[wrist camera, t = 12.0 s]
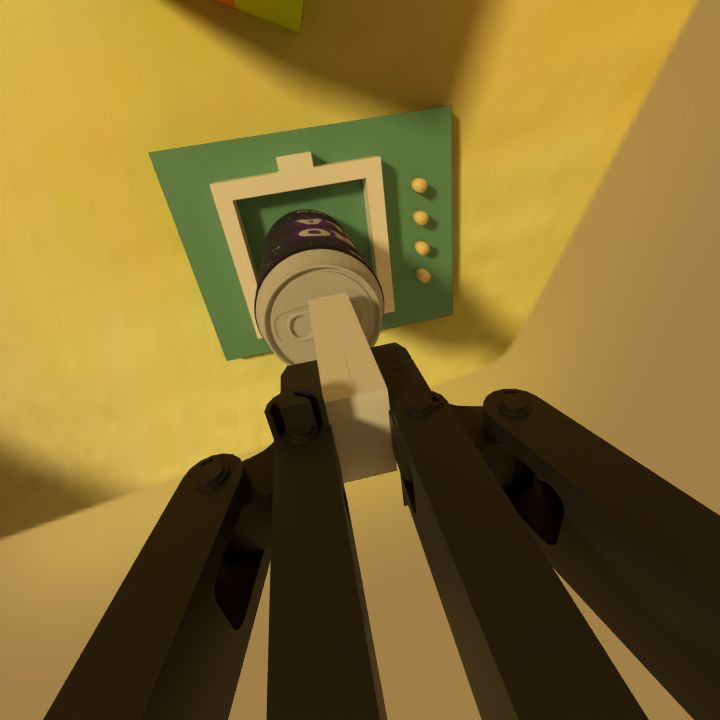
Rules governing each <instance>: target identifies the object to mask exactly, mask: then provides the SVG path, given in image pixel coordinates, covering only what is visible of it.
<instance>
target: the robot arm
mask: <svg viewBox="0 0 720 720" xmlns="http://www.w3.org/2000/svg"><path fill="white" fill-rule="evenodd" d="M308 305H309V312H310V318H311V324H312V331H313V337H314V343H315V350H316V356H317V360H314V361H309V362H304V363H299V364H295V365H290V366H287V367H286V369H285V370H284V372H283V373H282V375H281V393H280V394H279V395H277V396H275V397H274V398H273V399H272V400H271V401H270V402H269V403H268V404H267V406H266V409H265V415H266V418H267V421H268V423H269V426H270V429H271V432H272V435H273V438H274V442H273V443H272V444H271V445H270V446H269V447H268V448H267V449H265V450H264V451H262V452H260V453H259V454H257V455H255V456H253V457H251V458H249V459H246V460H244V461H242V462H241V459H240V458H238V457H237V456H235V455H233V454H224V453H223V454H218V455H213V456H210V457H208V458H206V459H204V460H202V461H200V462H199V463H197V464H196V465H195V466H193V467H192V468H191V469H190V470H189V471H188V472H187V474H186V475H185V476H184V477H183V479H182V481H181V482H180V484H179V486H178V488H177V489H176V491H175V493H174V495H173V496H172V498H171V500H170V501H169V503H168V505H167V507H166V508H165V510H164V512H163V514H162V515H161V517H160V519H159V520H158V522H157V524H156V526H155V527H154V529H153V531H152V533H151V534H150V536H149V538H148V539H147V541H146V543H145V545H144V546H143V548H142V550H141V551H140V553H139V555H138V557H137V559H136V560H135V562H134V564H133V565H132V567H131V569H130V571H129V572H128V574H127V576H126V577H125V580H124V581H123V583H122V584H121V586H120V588H119V590H118V591H117V593H116V595H115V597H114V598H113V600H112V602H111V603H110V605H109V607H108V609H107V610H106V612H105V614H104V616H103V618H102V619H101V621H100V623H99V624H98V626H97V628H96V629H95V631H94V633H93V635H92V636H91V638H90V640H89V642H88V643H87V645H86V647H85V648H84V650H83V652H82V654H81V655H80V658H79V659H78V661H77V662H76V664H75V666H74V668H73V669H72V671H71V673H70V674H69V676H68V678H67V680H66V681H65V683H64V685H63V686H62V688H61V690H60V692H59V693H58V695H57V697H56V699H55V700H54V702H53V704H52V705H51V707H50V709H49V711H48V712H47V714H46V716H45V718H44V719H43V720H228V718H229V714H230V710H231V706H232V703H233V699H234V695H235V691H236V688H237V683H238V680H239V676H240V673H241V669H242V665H243V661H244V658H245V654H246V650H247V646H248V642H249V639H250V635H251V631H252V628H253V624H254V620H255V616H256V612H257V609H258V605H259V601H260V597H261V594H262V590H263V586H264V582H265V579H266V575H267V571H268V567H269V564H270V560H271V571H270V609H269V646H268V684H267V720H387V715H386V710H385V704H384V699H383V693H382V688H381V682H380V677H379V671H378V666H377V660H376V655H375V650H374V644H373V639H372V633H371V628H370V623H369V617H368V611H367V606H366V600H365V595H364V589H363V584H362V578H361V573H360V567H359V562H358V557H357V551H356V546H355V540H354V535H353V529H352V524H351V518H350V513H349V508H348V502H347V498H346V493H345V489H344V484H343V483H346V482H350V481H355V480H359V479H363V478H367V477H371V476H376V475H380V474H384V473H388V472H392V471H396V470H397V466H396V462H397V464H398V467H399V470H400V474H401V481H402V490H403V500H404V506H406V505H408V506H409V509H410V512H411V514H412V517H413V520H414V523H415V526H416V529H417V532H418V535H419V538H420V541H421V544H422V547H423V549H424V552H425V555H426V558H427V561H428V564H429V567H430V570H431V573H432V576H433V579H434V582H435V585H436V587H437V590H438V593H439V596H440V599H441V602H442V605H443V608H444V610H445V614H446V617H447V620H448V622H449V625H450V628H451V631H452V634H453V637H454V640H455V643H456V646H457V648H458V651H459V655H460V658H461V660H462V663H463V666H464V669H465V672H466V675H467V678H468V681H469V684H470V687H471V689H472V693H473V695H474V698H475V701H476V704H477V707H478V710H479V713H480V716H481V719H482V720H649V719H648V718H647V716H646V715H645V713H644V712H643V710H642V708H641V707H640V705H639V704H638V702H637V700H636V699H635V697H634V696H633V694H632V693H631V691H630V690H629V688H628V686H627V685H626V683H625V682H624V680H623V679H622V677H621V675H620V674H619V672H618V670H617V669H616V667H615V666H614V664H613V663H612V661H611V659H610V658H609V656H608V655H607V653H606V651H605V650H604V648H603V647H602V645H601V644H600V642H599V640H598V639H597V637H596V636H595V634H594V633H593V631H592V629H591V628H590V626H589V625H588V623H587V621H586V620H585V618H584V617H583V615H582V614H581V612H580V610H579V609H578V608H577V606H576V604H575V602H574V601H573V599H572V598H571V596H570V595H569V593H568V591H567V590H566V588H565V587H564V585H563V583H562V582H561V581H560V579H559V577H558V575H557V574H556V572H555V571H554V569H555V570H556V571H557V573H558V574H559V575H560V576H561V577H562V578H563V579H564V580H565V581H566V582H567V583H568V584H569V585H570V587H571V588H572V589H573V590H574V591H575V592H576V593H577V594H578V595H579V596H580V597H581V598H582V599H583V601H584V602H585V603H586V604H587V605H588V606H589V607H590V608H591V609H592V610H593V611H594V612H595V614H596V615H597V616H598V617H599V618H600V619H601V620H602V621H603V622H604V623H605V624H606V625H607V626H608V627H609V629H610V630H611V631H612V632H613V633H614V634H615V635H616V636H617V637H618V638H619V639H620V640H621V642H622V643H623V644H624V645H625V646H626V647H627V648H628V649H629V650H630V651H631V652H632V653H633V655H634V656H635V657H636V658H637V659H638V660H639V661H640V662H641V663H642V664H643V665H644V666H645V667H646V669H647V670H648V671H649V672H650V673H651V674H652V675H653V676H654V677H655V678H656V679H657V680H658V681H659V683H660V684H661V685H662V686H663V687H664V688H665V689H666V690H667V691H668V692H669V693H670V694H671V695H672V696H673V698H674V699H675V700H676V701H677V702H678V703H679V704H680V705H681V706H682V707H683V708H684V709H685V711H686V712H687V713H688V714H689V715H690V716H691V717H692V718H693V719H694V720H720V516H719V515H718V514H716V513H715V512H713V511H712V510H710V509H709V508H707V507H706V506H704V505H703V504H701V503H699V502H698V501H696V500H695V499H693V498H692V497H690V496H689V495H687V494H686V493H684V492H683V491H681V490H680V489H678V488H677V487H675V486H673V485H672V484H671V483H669V482H667V481H666V480H664V479H663V478H661V477H660V476H658V475H657V474H655V473H654V472H652V471H650V470H649V469H648V468H646V467H644V466H643V465H641V464H640V463H638V462H637V461H635V460H634V459H632V458H630V457H629V456H628V455H626V454H625V453H623V452H621V451H620V450H618V449H617V448H615V447H614V446H612V445H611V444H609V443H608V442H606V441H605V440H603V439H602V438H600V437H598V436H597V435H595V434H594V433H592V432H591V431H589V430H587V429H586V428H585V427H583V426H582V425H580V424H579V423H577V422H575V421H574V420H572V419H571V418H569V417H568V416H566V415H565V414H563V413H562V412H560V411H558V410H557V409H556V408H554V407H553V406H551V405H549V404H548V403H546V402H545V401H543V400H542V399H540V398H539V397H537V396H535V395H533V394H531V393H529V392H526V391H522V390H518V389H502V390H498V391H494V392H492V393H491V394H489V395H488V396H487V397H486V398H485V400H484V402H483V406H456V405H452V404H449V403H448V401H447V400H446V399H445V398H444V397H443V396H442V395H440V394H438V393H436V392H433V391H431V390H430V388H429V386H428V385H427V383H426V381H425V380H424V378H423V376H422V375H421V373H420V371H419V370H418V368H417V366H416V365H415V363H414V361H413V360H412V359H411V356H410V355H409V353H408V351H407V350H406V348H404V347H402V346H401V345H399V344H397V343H390V344H385V345H381V346H376V347H371V348H370V347H369V344H368V342H367V340H366V337H365V335H364V333H363V330H362V328H361V326H360V323H359V321H358V318H357V316H356V314H355V311H354V309H353V307H352V304H351V302H350V300H349V297H348V295H347V293H341V294H336V295H331V296H325V297H320V298H315V299H310V300H308ZM552 567H553V568H554V569H553V568H552Z"/></svg>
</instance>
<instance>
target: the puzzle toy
mask: <svg viewBox="0 0 720 720" xmlns="http://www.w3.org/2000/svg"><path fill="white" fill-rule="evenodd" d="M213 1H215V2H218V3H220V4H223V5H226V6H228V7H231V8H234V9H236V10H239V11H242V12H244V13H247V14H249V15H252V16H255V17H257V18H260V19H263V20H265V21H268V22H270V23H273V24H276V25H278V26H281V27H284V28H286V29H289V30H292V31H294V32H297V33H299V32H300V25H301V18H302V11H303V4H304V0H213Z"/></svg>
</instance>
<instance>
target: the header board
mask: <svg viewBox="0 0 720 720" xmlns="http://www.w3.org/2000/svg"><path fill="white" fill-rule="evenodd" d="M149 156H150V158H151V161H152V164H153V166H154V169H155V172H156V174H157V177H158V180H159V182H160V185H161V188H162V190H163V193H164V195H165V198H166V201H167V203H168V206H169V209H170V211H171V214H172V217H173V219H174V222H175V225H176V227H177V230H178V233H179V235H180V238H181V241H182V243H183V246H184V248H185V251H186V254H187V256H188V259H189V262H190V264H191V267H192V270H193V272H194V275H195V278H196V280H197V283H198V286H199V288H200V291H201V294H202V296H203V299H204V301H205V304H206V307H207V309H208V312H209V315H210V317H211V320H212V323H213V325H214V328H215V331H216V333H217V336H218V339H219V341H220V344H221V347H222V349H223V352H224V354H225V357H226V360H227V361H229V360H234V359H239V358H244V357H249V356H253V355H258V354H263V353H268V352H273V351H272V350H271V348H270V347H269V346H268V345H267V343H266V342H265V341H264V339H263V338H262V336H261V334H260V332H259V330H258V327H257V324H256V320H255V315H254V301H255V295H256V289H257V283H258V278H259V272H260V266H261V261H262V255H263V249H264V244H265V240H266V237H267V234H268V232H269V230H270V229H271V227H272V226H273V224H274V223H275V222H276V221H277V220H278V219H280V218H281V217H282V216H284V215H286V214H288V213H290V212H292V211H296V210H302V209H310V210H316V211H320V212H323V213H325V214H327V215H329V216H330V217H332V218H333V219H334V220H335V221H337V222H338V223H339V225H340V226H341V227H342V228H343V230H344V231H345V233H346V234H347V235H348V237H349V238H350V240H351V241H352V242H353V244H354V245H355V247H356V248H357V249H358V251H359V252H360V254H361V255H362V257H363V258H364V259H365V261H366V262H367V264H368V265H369V266H370V268H371V269H372V271H373V272H374V273H375V275H376V277H377V278H378V280H379V282H380V285H381V287H382V291H383V295H384V316H383V320H382V326H381V329H386V328H391V327H396V326H401V325H406V324H410V323H415V322H420V321H425V320H430V319H435V318H440V317H445V316H450V315H453V286H452V106H445V107H439V108H432V109H426V110H419V111H413V112H406V113H400V114H394V115H387V116H381V117H374V118H368V119H361V120H355V121H349V122H342V123H336V124H329V125H323V126H316V127H310V128H304V129H297V130H291V131H284V132H278V133H271V134H265V135H258V136H252V137H246V138H239V139H233V140H226V141H220V142H213V143H207V144H201V145H194V146H188V147H181V148H175V149H168V150H162V151H156V152H149Z"/></svg>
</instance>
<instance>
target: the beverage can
mask: <svg viewBox="0 0 720 720" xmlns="http://www.w3.org/2000/svg"><path fill="white" fill-rule="evenodd" d="M341 293H347V295H348V297H349V300H350V302H351V304H352V307H353V309H354V311H355V314H356V316H357V318H358V321H359V323H360V326H361V328H362V330H363V333H364V335H365V337H366V340H367V342H368V344H369V347H370V348H371V347H374V345H375V343H376V341H377V339H378V337H379V334H380V331H381V326H382V320H383V316H384V295H383V291H382V287H381V285H380V282H379V280H378V278H377V277H376V275H375V273H374V272H373V271H372V269H371V268H370V266H369V265H368V264H367V262H366V261H365V259H364V258H363V257H362V255H361V254H360V252H359V251H358V249H357V248H356V247H355V245H354V244H353V242H352V241H351V240H350V238H349V237H348V235H347V234H346V233H345V231H344V230H343V228H342V227H341V226H340V225H339V223H338V222H337V221H335V220H334V219H333V218H332V217H330V216H329V215H327V214H325V213H323V212H320V211H316V210H310V209H302V210H296V211H292V212H290V213H288V214H286V215H284V216H282V217H281V218H280V219H278V220H277V221H276V222H275V223H274V224H273V226H272V227H271V229H270V230H269V232H268V234H267V237H266V240H265V244H264V249H263V255H262V261H261V266H260V272H259V278H258V283H257V289H256V295H255V301H254V315H255V320H256V324H257V327H258V330H259V332H260V334H261V336H262V338H263V339H264V341H265V342H266V343H267V345H268V346H269V347H270V348H271V350H272V351H273V353H274V354H275V355H276V356H277V357H278V358H279V359H280V360H281V361H282V362H284V363H285V364H287V365H288V366H290V365H295V364H299V363H304V362H309V361H314V360H317V356H316V350H315V343H314V337H313V331H312V324H311V318H310V312H309V305H308V300H310V299H315V298H320V297H325V296H331V295H336V294H341Z"/></svg>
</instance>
